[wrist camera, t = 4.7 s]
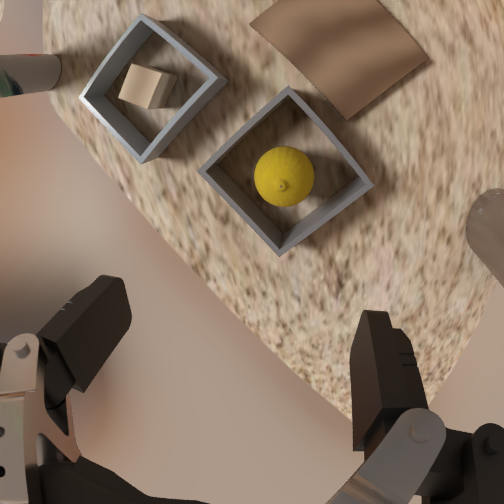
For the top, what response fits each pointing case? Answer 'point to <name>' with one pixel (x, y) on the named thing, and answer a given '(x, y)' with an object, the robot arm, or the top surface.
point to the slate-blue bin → (116, 63)
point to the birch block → (147, 86)
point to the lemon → (284, 176)
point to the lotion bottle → (28, 73)
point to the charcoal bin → (252, 212)
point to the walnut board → (341, 47)
